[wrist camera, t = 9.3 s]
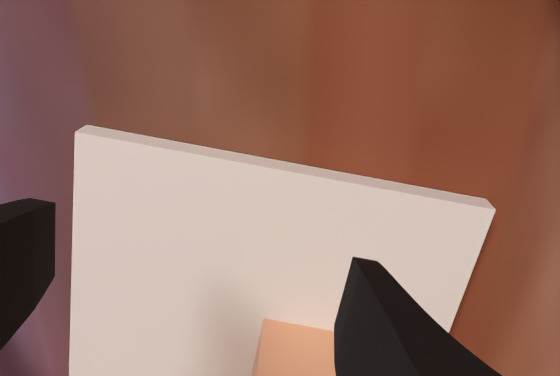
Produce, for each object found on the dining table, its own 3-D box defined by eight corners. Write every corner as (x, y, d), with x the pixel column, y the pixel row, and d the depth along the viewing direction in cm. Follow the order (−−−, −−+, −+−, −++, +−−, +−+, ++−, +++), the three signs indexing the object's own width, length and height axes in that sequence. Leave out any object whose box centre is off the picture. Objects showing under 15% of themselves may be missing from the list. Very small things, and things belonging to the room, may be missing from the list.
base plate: (77, 412, 28) (67, 430, 27) (86, 124, 21) (74, 131, 20) (387, 464, 28) (390, 484, 27) (486, 198, 22) (495, 209, 21)
